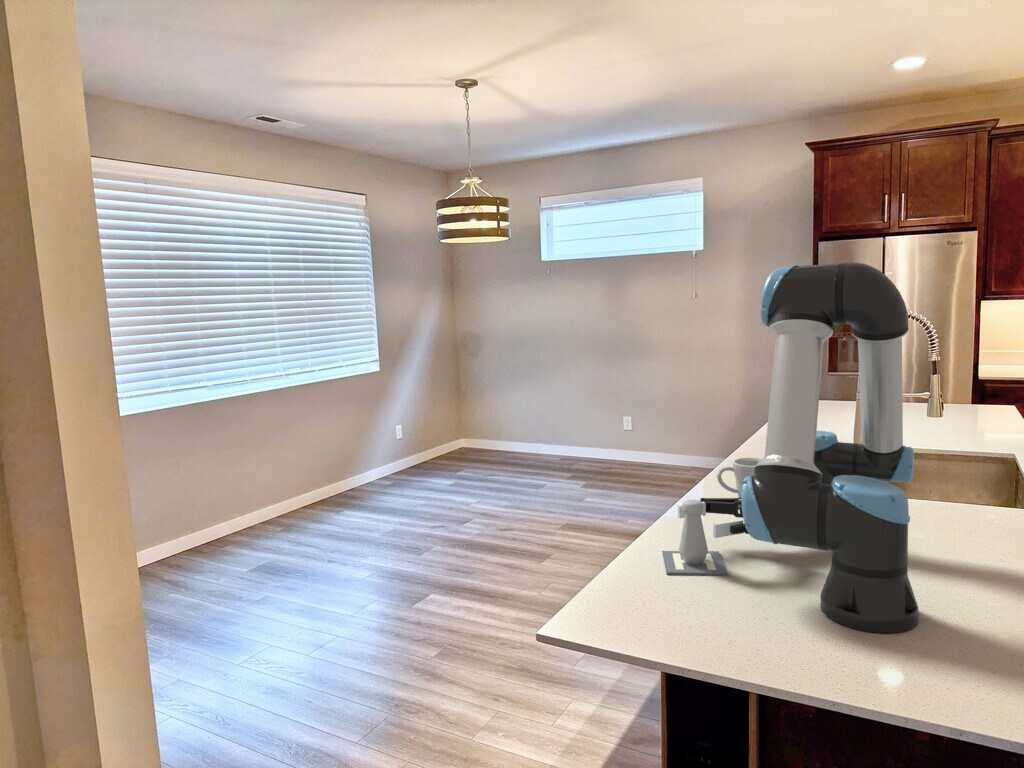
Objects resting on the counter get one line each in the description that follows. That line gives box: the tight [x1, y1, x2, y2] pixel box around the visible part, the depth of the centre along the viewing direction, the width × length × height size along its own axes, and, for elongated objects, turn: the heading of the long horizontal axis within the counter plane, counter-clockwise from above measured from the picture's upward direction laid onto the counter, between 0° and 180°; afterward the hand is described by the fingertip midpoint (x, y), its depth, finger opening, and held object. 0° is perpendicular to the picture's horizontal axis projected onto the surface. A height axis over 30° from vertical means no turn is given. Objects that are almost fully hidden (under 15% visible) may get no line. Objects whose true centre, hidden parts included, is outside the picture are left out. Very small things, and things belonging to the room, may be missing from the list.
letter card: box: [661, 550, 729, 576], centre depth 146 cm, size 12×12×1 cm
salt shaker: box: [678, 499, 709, 565], centre depth 145 cm, size 6×6×13 cm
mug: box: [716, 457, 764, 498], centre depth 190 cm, size 10×15×10 cm
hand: (695, 521), depth 145 cm, fingers open, 13 cm apart
